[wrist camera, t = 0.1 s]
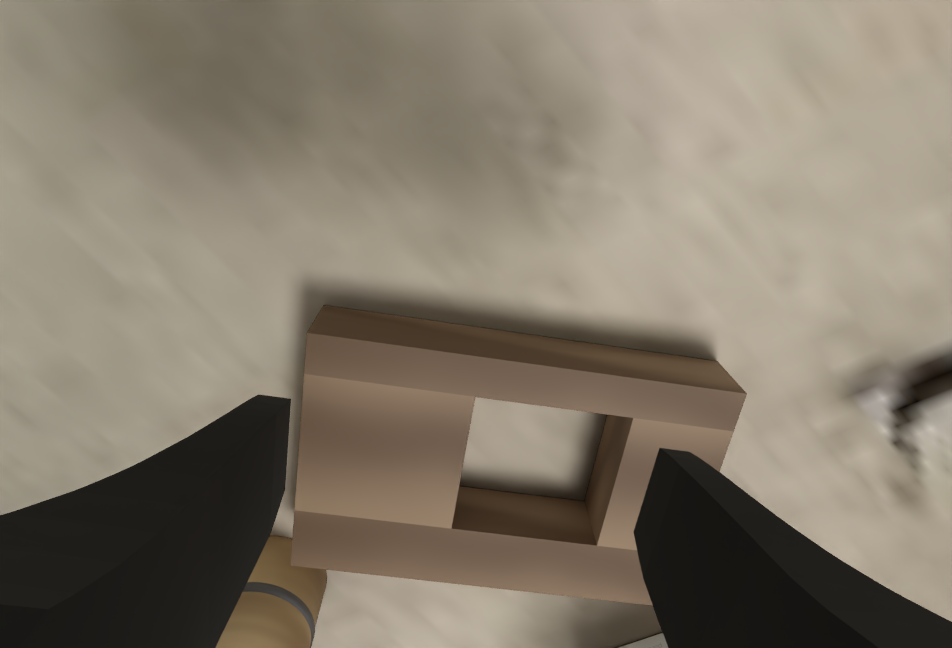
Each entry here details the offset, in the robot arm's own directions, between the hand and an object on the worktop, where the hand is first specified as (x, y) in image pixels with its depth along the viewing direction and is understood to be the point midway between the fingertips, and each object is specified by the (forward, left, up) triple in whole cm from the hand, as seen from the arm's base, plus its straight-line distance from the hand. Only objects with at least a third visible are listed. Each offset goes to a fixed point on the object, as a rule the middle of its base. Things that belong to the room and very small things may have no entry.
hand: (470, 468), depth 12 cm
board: (-5, -2, -10) cm, 12 cm away
